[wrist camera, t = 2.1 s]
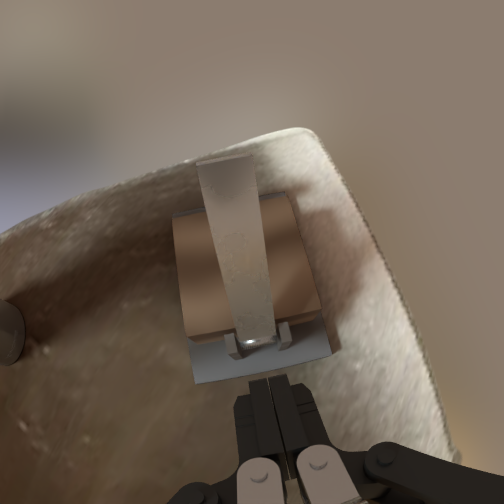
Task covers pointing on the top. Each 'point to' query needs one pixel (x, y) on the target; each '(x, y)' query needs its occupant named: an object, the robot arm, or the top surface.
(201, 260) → the latch block
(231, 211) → the strap
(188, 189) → the top surface
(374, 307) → the top surface
